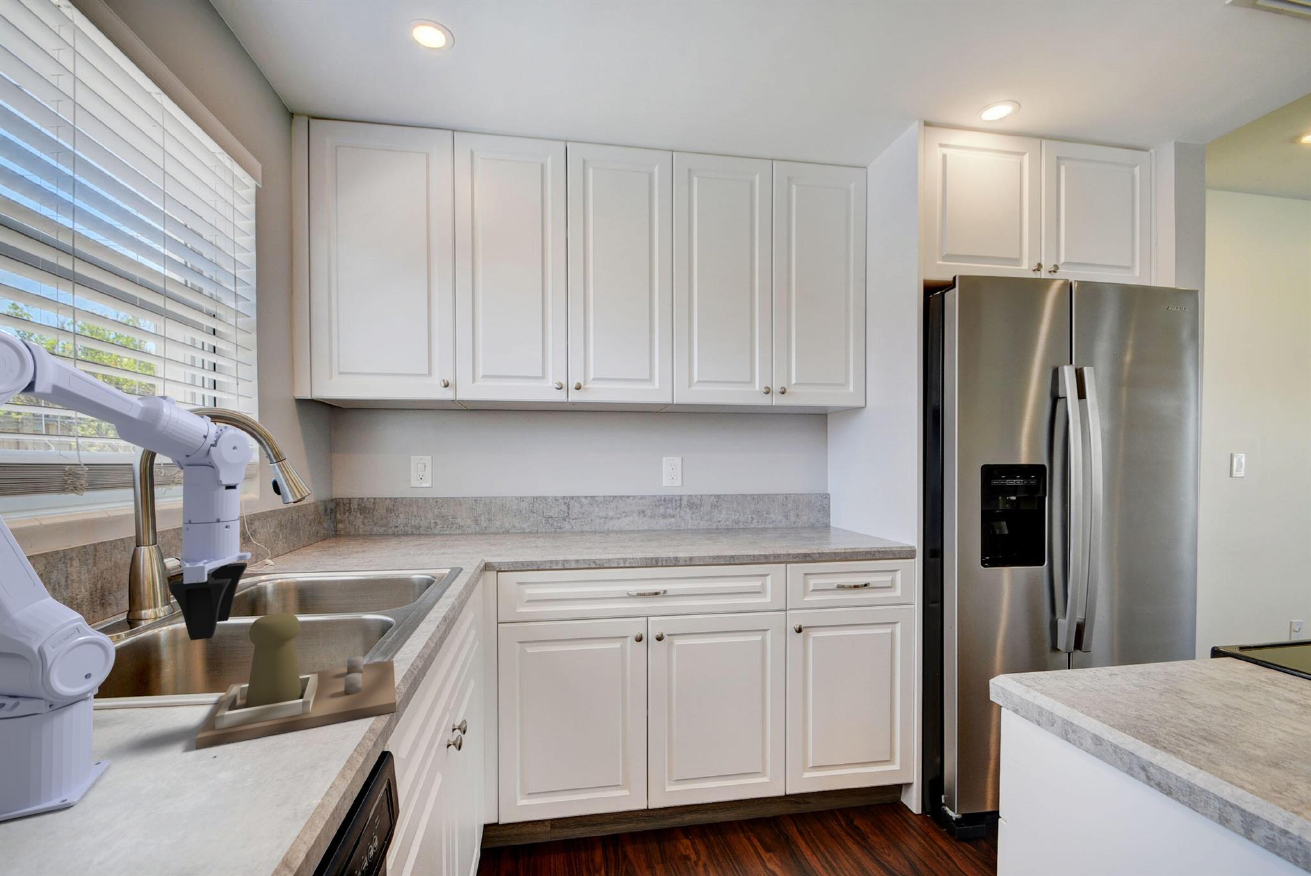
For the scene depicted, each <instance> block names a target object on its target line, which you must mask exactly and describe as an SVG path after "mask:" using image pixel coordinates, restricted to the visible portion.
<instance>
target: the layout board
mask: <svg viewBox="0 0 1311 876" xmlns="http://www.w3.org/2000/svg"><path fill="white" fill-rule="evenodd" d="M346 665H347V666H346V667H345V666H343V667H338V668H332V669H326V670H319V671H313V672H304V673H299V676H300V683H301V690H302V697H303V699H300V700H294V701H288V702H282V703H276V704H270V705H264V706H258V707H252V708H246V709H245V703H246V697H247V691H248V685H249V681H246V682H239V683H234V684H233V683H231V684H230V685H229V687H228V688H227V689H226V692H225V693H224V694H223V695H222V698H221V699H220V700H219V702H218V704H217V705H216V707H215V708H214V710H213V711H212V713H211V715H210V716H209V718H208V719H207V721H206V722H205V724H204V725H203V726H202V728H201V729H200V732H199V733H198V734H197V736H196V737H195V749H196V750H198V749H204V748H208V747H213V746H221V745H224V744H231V743H234V742H235V743H236V742H240V741H241V742H242V741H246V740H251V739H252V740H253V739H257V738H262V737H267V736H271V735H272V736H273V735H279V734H283V733H289V732H294V731H300V730H305V729H309V728H316V727H320V726H321V727H322V726H326V725H331V724H336V723H342V722H346V721H353V720H357V719H363V718H368V717H369V718H370V717H375V716H379V715H380V716H381V715H384V714H385V715H386V714H390V713H394V712H395V713H396V712H397V696H396V695H397V694H396V679H395V663H394V660H392V659H391V660H386V661H378V662H377V661H376V662H372V663H365V664H364V657H363V656H362V655H356V656H351V657H349V658H347V662H346Z"/></svg>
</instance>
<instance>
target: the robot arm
mask: <svg viewBox="0 0 1311 876" xmlns="http://www.w3.org/2000/svg"><path fill="white" fill-rule="evenodd" d="M17 395H18V396H19V395H21V396H30V397H32V398H33V397H34V398H36V399H38V400H41V401H44V402H47V403H49V404H50V403H51V404H53V405H56V406H59V407H61V408H65V409H68V410H71V411H74V412H77V413H79V414H82V415H85V416H88V417H91V418H94V419H97V420H100V421H103V422H105V423H108V424H112V425H114V427H115V429H116V434H117V436H118V437H119V438H120V439H121V440H122V441H124V442H127V443H129V444H131V445H134V446H137V447H140V448H143V449H145V450H148V451H150V452H153V453H156V454H158V455H161V456H163V457H167V458H169V459H171V461H172V463H173V464H174V466H176V468H177V469H179V470H182V473H183V474H182V477H183V478H182V528H181V529H182V530H181V531H182V537H181V538H182V539H181V541H182V542H181V558H179V566H180V567H181V568H182V569H183V579H180V580H172V581H171V582H169V584H168V591H169V593H170V594H171V595H172V597H173V598H174V599H175V600H176V602H177V604H178V606H179V608H180V610H181V611H180V612H181V614H182V616H183V619H184V624H185V627H186V630H187V634H188V638H189V639H190V641H196V640H197V641H199V640H206V639H212V638H213V637H214V635H215V632H216V629H217V625H218V623H219V622H220V623H221V622H228V621H229V618H230V615H231V613H232V609H233V606H234V605H233V604H234V599H235V596H236V592H237V589H238V585H239V583H240V581H241V579H242V576H243V575H244V573H245V571H246V569H247V567H248V563H247V562H240V561H246V560H250V559H251V558H252V553H251V552H250V551H249V552H248V551H247V552H240V549H241V548H240V545H241V544H240V543H241V539H240V538H241V537H240V536H241V535H240V533H241V532H240V530H241V484H242V483H243V480H245V478H246V477H245V476H246V475H245V473H246V468H247V466H248V465H249V463H250V462H251V460H252V458H253V454H254V447H251V444H250V441H249V439H248V437H247V436H246V434H245V433H244V432H243V431H241V430H240V429H239V428H237V427H235V426H231V425H216V424H215V423H214V422H212V421H211V420H212V419H211V417H210V416H207V415H204V414H195V413H193V412H191V411H188V410H186V409H185V408H182V407H180V406H178V405H176V404H177V403H176V402H177V399H175V398H173V397H172V396H169V395H146V396H141V397H138V398H135V397H133V396H131V395H129V394H127V393H125V392H123V391H121V390H120V389H118V388H117V387H114V386H112V385H110V384H108V383H107V382H104V381H102V380H100V379H98V378H97V377H94V376H92V375H91V374H89V373H86V372H84V371H83V370H81V369H79V368H77V367H75V366H73V365H72V364H70V363H67V362H65V361H63V360H62V359H59V358H57V357H55V356H54V355H52V354H51V353H49V352H48V351H47V350H46V349H45V348H44V347H43V346H42V345H41V344H39V343H35V342H33V341H29V340H27V339H23V338H18V337H16V335H14V334H12V333H11V332H9V331H7V330H4V329H2V328H0V407H2V406H3V405H5V404H6V403H7V402H9V401H11V400H12V399H13V398H15V397H16V396H17ZM115 660H116V648H115V645H114V643H113V641H112V639H111V638H110V637H109V636H108V635H106V634H105V633H103V632H100V631H97V630H95V629H93V628H92V627H91V626H90V625H89V624H88V623H87V622H86V620H85V618H84V616H83V615H82V614H80V613H78V612H77V611H76V610H73V609H72V608H70V607H68V606H66V605H65V604H63V603H62V602H61V603H60V602H59V601H57V600H56V599H54V598H53V597H51V594H50V593H49V591H48V590H47V588H46V587H45V585H44V584H43V581H42V580H41V579H40V577H39V575H38V574H37V572H36V570H35V569H34V567H33V566H32V564H31V563H30V561H29V558H27V556H26V555H25V553H24V551H23V549H22V548H21V546H20V545H19V543H18V541H17V539H16V538H15V537H14V535H13V533H12V531H11V530H10V528H9V526H8V525H7V523H6V522H5V520H4V519H3V516H2V515H1V514H0V822H1V821H5V820H11V819H15V818H20V817H24V816H30V815H35V814H39V813H45V812H49V811H55V810H60V809H64V808H68V807H72V806H74V805H76V804H77V803H78V802H79V801H80V800H81V799H82V798H83V797H84V795H85V794H86V793H87V792H88V791H89V789H91V787H92V786H93V785H94V784H95V782H97V780H99V778H100V777H101V776H102V775H103V773H104V772H106V770H107V769H108V768H109V767H110V765H111V760H109V759H107V760H106V759H105V760H100V761H93V751H94V750H93V748H94V745H93V743H94V739H93V738H94V730H93V729H94V695H97V694H98V692H99V686H101V685H102V683H104V682H105V680H106V678H108V676H109V674H110V672H111V671H112V668H113V667H114V664H115Z"/></svg>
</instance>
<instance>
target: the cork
mask: <svg viewBox="0 0 1311 876" xmlns="http://www.w3.org/2000/svg"><path fill="white" fill-rule="evenodd" d="M299 631H300V620H299V618H297V616H296V615H295V614H292V613H286V612H285V613H284V612H281V613H272V614H271V613H270V614H268V615H264V616H260V617H259V618H257V619H255V620H254V621H253V623H252V624H251V625H250V627H249V631H248V633H249V634H248V636H249V640H250V642H251V643H252V645H254V649H253V656H252V661H251V667H250V673H249V679H248V682H249V685H248V691H247V697H246V703H245V709H246V708H252V707H258V706H264V705H270V704H276V703H282V702H288V701H294V700H300V699H303V697H302V690H301V683H300V676H299V674H300V671H299V670H300V669H299V662H298V657H297V656H298V655H297V650H296V643H295V639H296V637H297V636H298V634H299Z"/></svg>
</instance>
